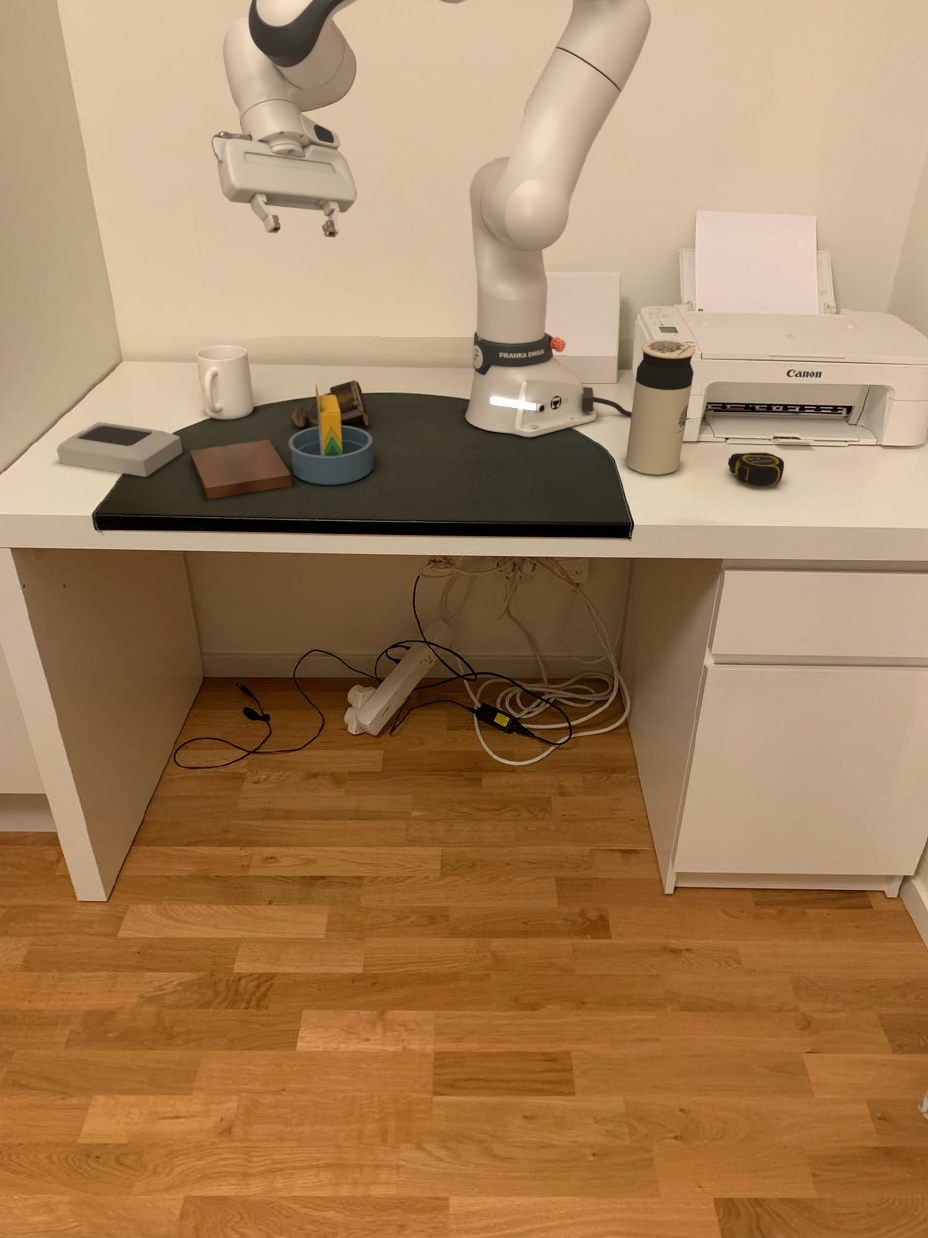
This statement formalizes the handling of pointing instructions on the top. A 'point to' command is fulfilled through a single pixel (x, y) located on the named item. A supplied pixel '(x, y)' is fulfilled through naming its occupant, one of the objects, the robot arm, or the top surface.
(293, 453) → the bowl
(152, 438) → the grey bevelled block
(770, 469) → the tape measure
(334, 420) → the crayon box
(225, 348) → the cup
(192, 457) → the board
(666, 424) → the travel mug
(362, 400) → the brown roll holder
